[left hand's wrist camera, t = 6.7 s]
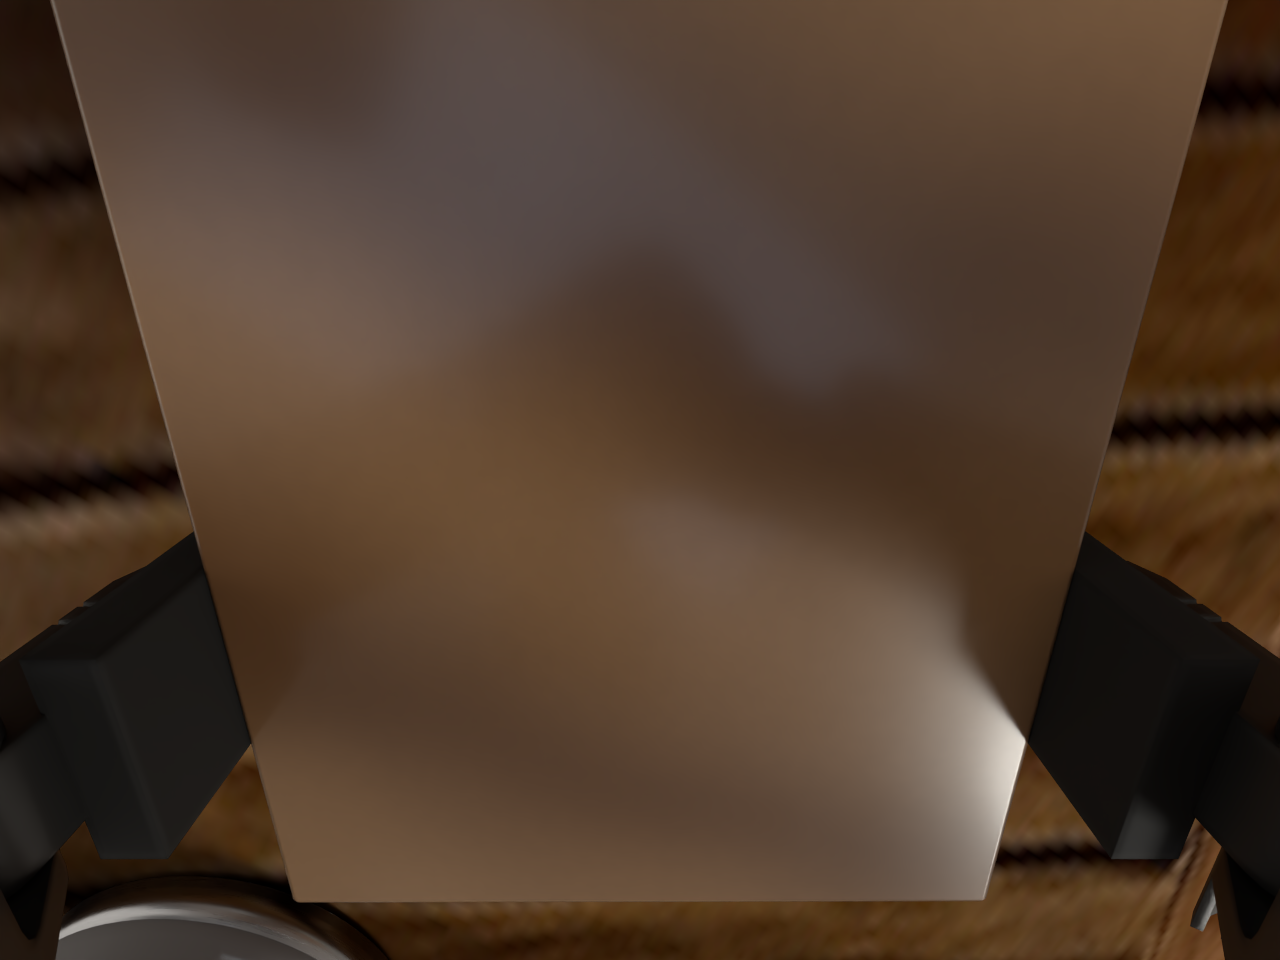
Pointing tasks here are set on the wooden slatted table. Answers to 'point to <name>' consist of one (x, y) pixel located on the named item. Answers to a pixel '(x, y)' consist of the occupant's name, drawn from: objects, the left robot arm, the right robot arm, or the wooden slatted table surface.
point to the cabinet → (639, 411)
